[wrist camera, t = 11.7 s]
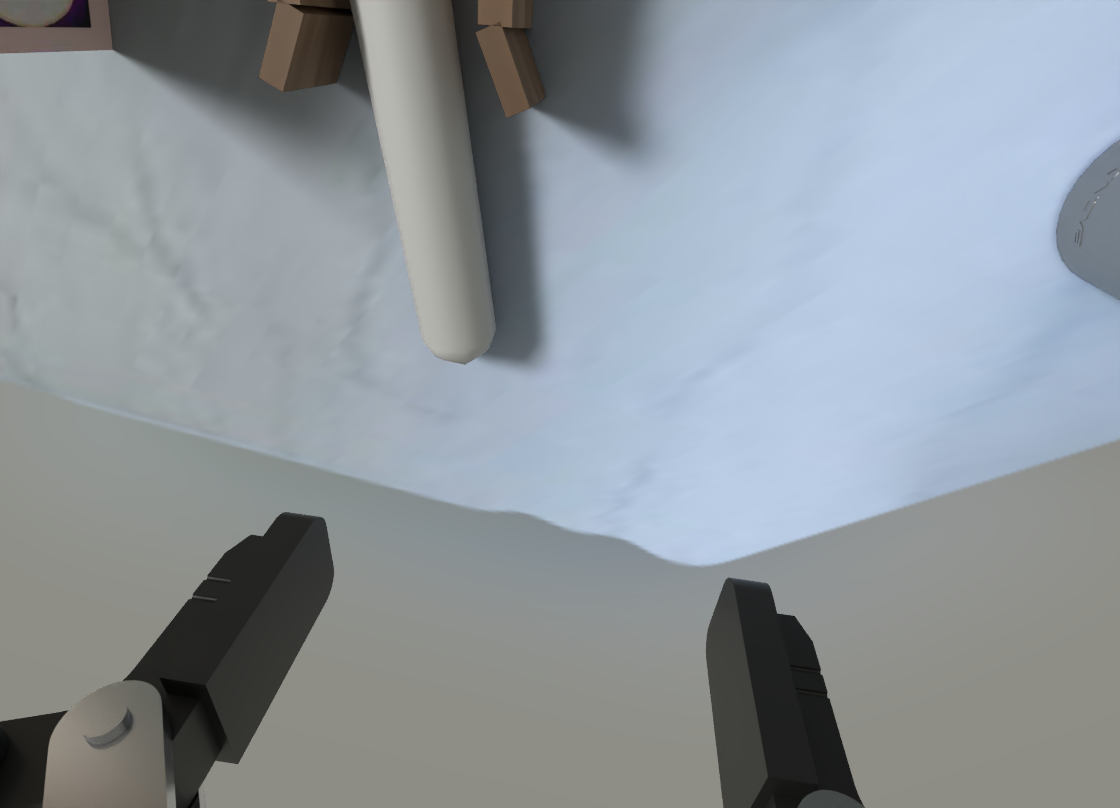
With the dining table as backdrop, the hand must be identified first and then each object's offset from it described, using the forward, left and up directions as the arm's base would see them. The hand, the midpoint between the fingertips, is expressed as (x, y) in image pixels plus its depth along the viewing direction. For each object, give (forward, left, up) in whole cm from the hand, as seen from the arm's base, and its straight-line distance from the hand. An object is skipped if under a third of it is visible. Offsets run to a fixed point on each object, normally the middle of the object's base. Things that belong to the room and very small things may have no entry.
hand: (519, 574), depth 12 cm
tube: (+10, -2, -29) cm, 30 cm away
